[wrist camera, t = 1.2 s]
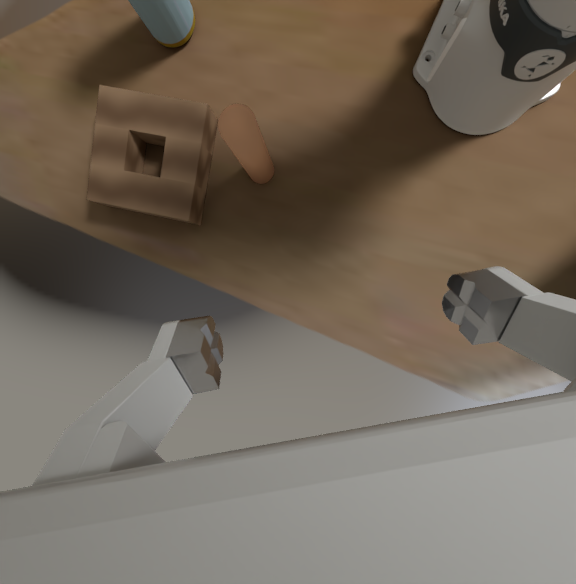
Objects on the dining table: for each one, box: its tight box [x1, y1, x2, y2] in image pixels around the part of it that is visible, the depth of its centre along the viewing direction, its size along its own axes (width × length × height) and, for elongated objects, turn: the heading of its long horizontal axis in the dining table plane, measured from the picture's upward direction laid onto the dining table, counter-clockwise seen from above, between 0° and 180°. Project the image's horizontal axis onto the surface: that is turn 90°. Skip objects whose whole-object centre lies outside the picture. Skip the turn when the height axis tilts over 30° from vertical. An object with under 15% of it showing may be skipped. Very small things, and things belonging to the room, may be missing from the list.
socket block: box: [86, 85, 218, 225], centre depth 39 cm, size 16×16×4 cm
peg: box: [218, 103, 274, 184], centre depth 33 cm, size 4×4×13 cm
